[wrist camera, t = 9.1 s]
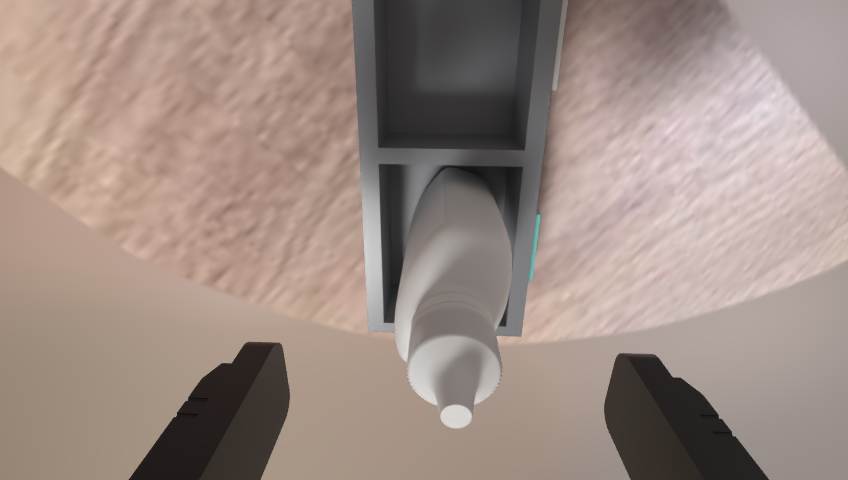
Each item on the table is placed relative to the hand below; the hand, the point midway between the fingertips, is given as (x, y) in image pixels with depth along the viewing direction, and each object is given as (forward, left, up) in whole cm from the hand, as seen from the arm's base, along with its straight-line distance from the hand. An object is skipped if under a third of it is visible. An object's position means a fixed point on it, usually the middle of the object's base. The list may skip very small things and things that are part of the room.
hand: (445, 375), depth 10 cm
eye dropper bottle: (0, 0, -11) cm, 11 cm away
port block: (-4, 0, -12) cm, 13 cm away
